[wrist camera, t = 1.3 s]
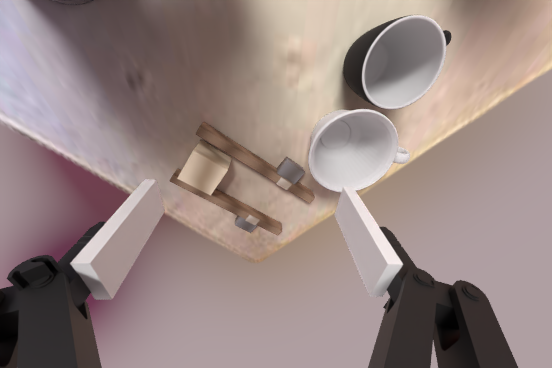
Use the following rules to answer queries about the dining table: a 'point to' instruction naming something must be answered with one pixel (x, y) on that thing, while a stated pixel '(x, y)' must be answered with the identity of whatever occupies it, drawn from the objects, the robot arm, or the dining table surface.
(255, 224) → the beam slot
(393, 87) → the mug
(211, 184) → the block
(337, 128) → the teacup
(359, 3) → the dining table surface
